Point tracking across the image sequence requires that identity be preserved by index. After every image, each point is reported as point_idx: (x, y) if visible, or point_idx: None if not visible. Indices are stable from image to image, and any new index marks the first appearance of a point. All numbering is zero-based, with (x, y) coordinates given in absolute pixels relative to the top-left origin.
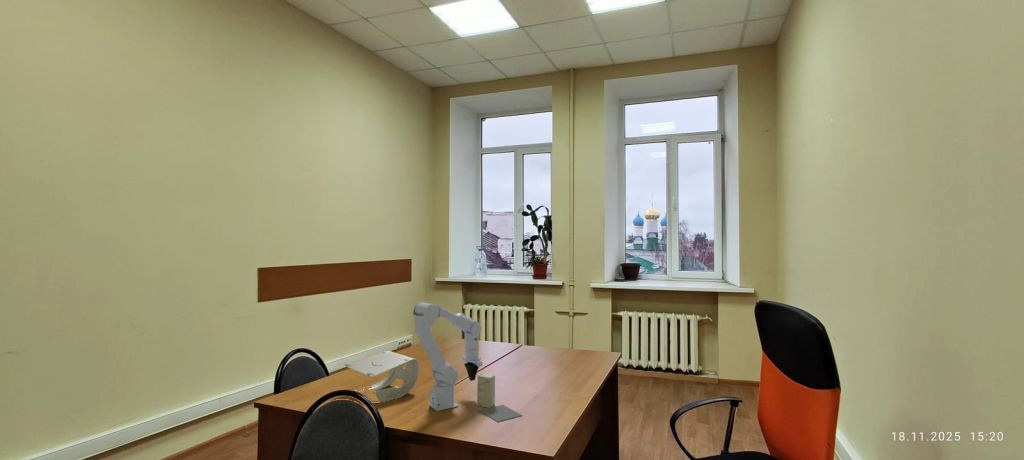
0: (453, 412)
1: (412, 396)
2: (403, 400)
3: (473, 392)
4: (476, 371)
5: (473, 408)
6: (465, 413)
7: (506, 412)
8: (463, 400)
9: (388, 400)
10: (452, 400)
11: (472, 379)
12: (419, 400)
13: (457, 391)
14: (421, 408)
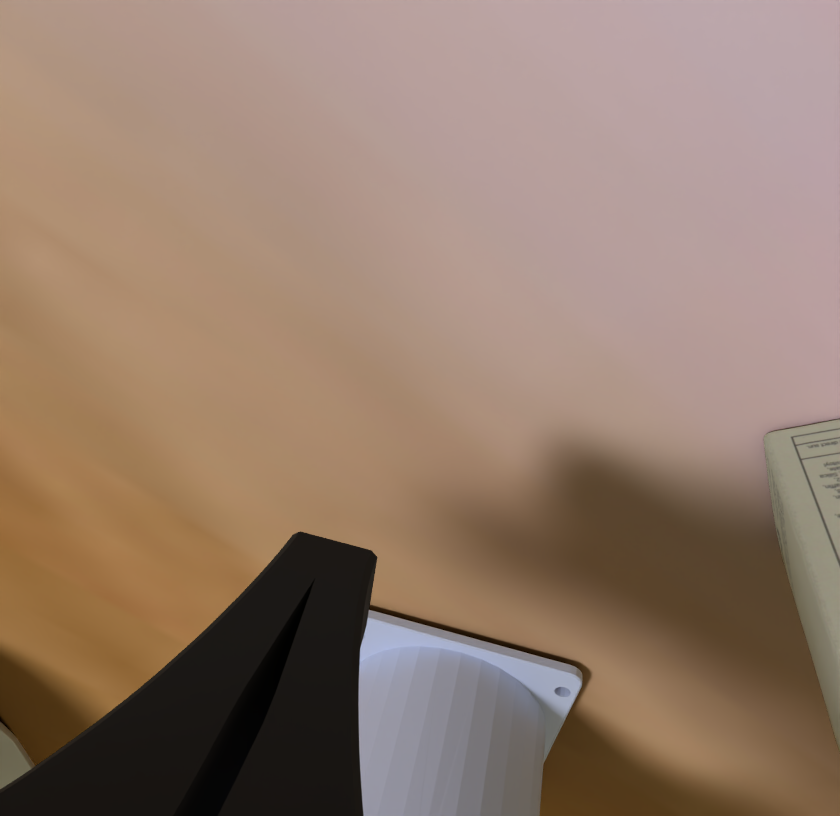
0: (675, 768)
1: (3, 661)
2: None
3: (203, 164)
4: (357, 790)
5: (802, 627)
6: (824, 749)
7: None
8: (439, 505)
9: None
10: (537, 773)
11: (364, 623)
12: None
13: (29, 311)
14: None
